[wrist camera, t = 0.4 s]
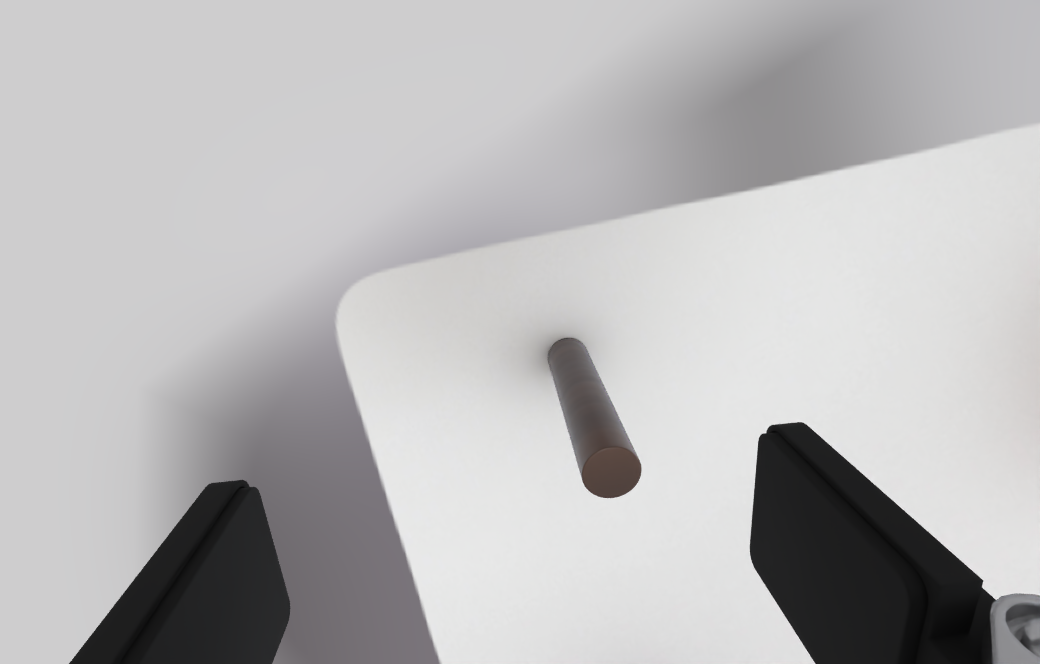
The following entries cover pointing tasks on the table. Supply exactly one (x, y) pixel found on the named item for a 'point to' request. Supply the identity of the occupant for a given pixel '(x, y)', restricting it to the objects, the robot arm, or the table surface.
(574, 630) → the table surface
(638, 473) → the stick
